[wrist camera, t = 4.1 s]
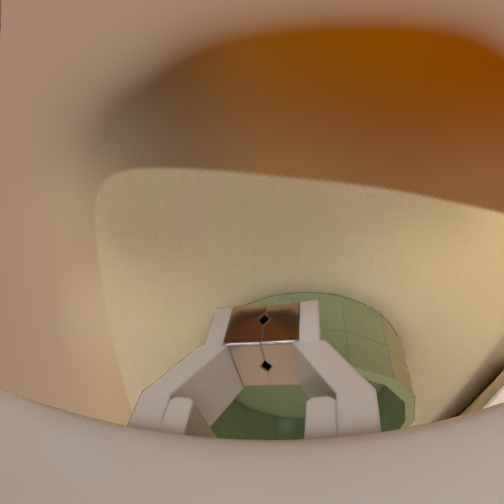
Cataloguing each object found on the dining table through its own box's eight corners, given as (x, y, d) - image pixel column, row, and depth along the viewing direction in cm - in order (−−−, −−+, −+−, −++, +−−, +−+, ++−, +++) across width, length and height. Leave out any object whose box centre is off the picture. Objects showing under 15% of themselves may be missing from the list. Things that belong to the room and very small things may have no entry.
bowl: (185, 384, 23) (168, 437, 18) (250, 255, 16) (232, 324, 12) (330, 427, 24) (330, 477, 20) (437, 334, 17) (459, 396, 13)
